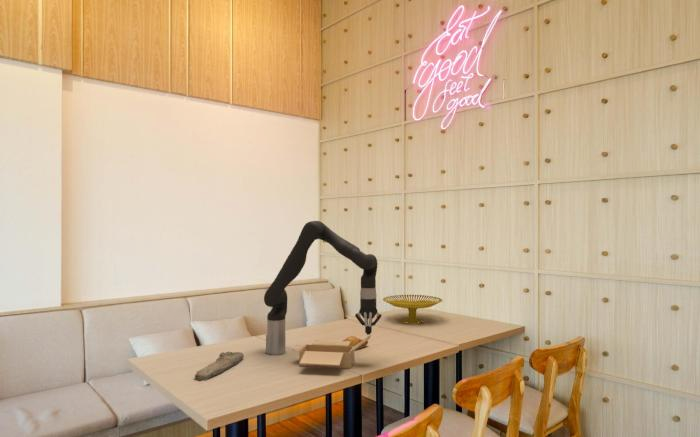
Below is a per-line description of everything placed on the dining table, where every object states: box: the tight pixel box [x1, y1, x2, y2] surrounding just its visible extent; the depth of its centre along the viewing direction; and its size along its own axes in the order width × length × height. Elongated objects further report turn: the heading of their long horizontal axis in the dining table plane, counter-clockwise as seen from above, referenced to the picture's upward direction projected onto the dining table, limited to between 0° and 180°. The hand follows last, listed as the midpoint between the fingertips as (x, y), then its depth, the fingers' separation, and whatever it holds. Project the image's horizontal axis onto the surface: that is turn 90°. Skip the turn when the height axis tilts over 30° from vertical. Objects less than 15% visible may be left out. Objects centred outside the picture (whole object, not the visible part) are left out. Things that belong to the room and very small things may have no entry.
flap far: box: [352, 334, 372, 352], centre depth 212 cm, size 1×7×10 cm
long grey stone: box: [194, 351, 245, 382], centre depth 209 cm, size 35×5×10 cm
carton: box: [292, 339, 355, 370], centre depth 219 cm, size 28×20×7 cm
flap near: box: [300, 351, 343, 366], centre depth 204 cm, size 1×18×10 cm
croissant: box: [341, 335, 369, 351], centre depth 240 cm, size 21×10×8 cm, turn 118°
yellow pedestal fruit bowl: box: [382, 294, 443, 324], centre depth 306 cm, size 40×40×15 cm
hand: (368, 334), depth 212 cm, fingers closed
